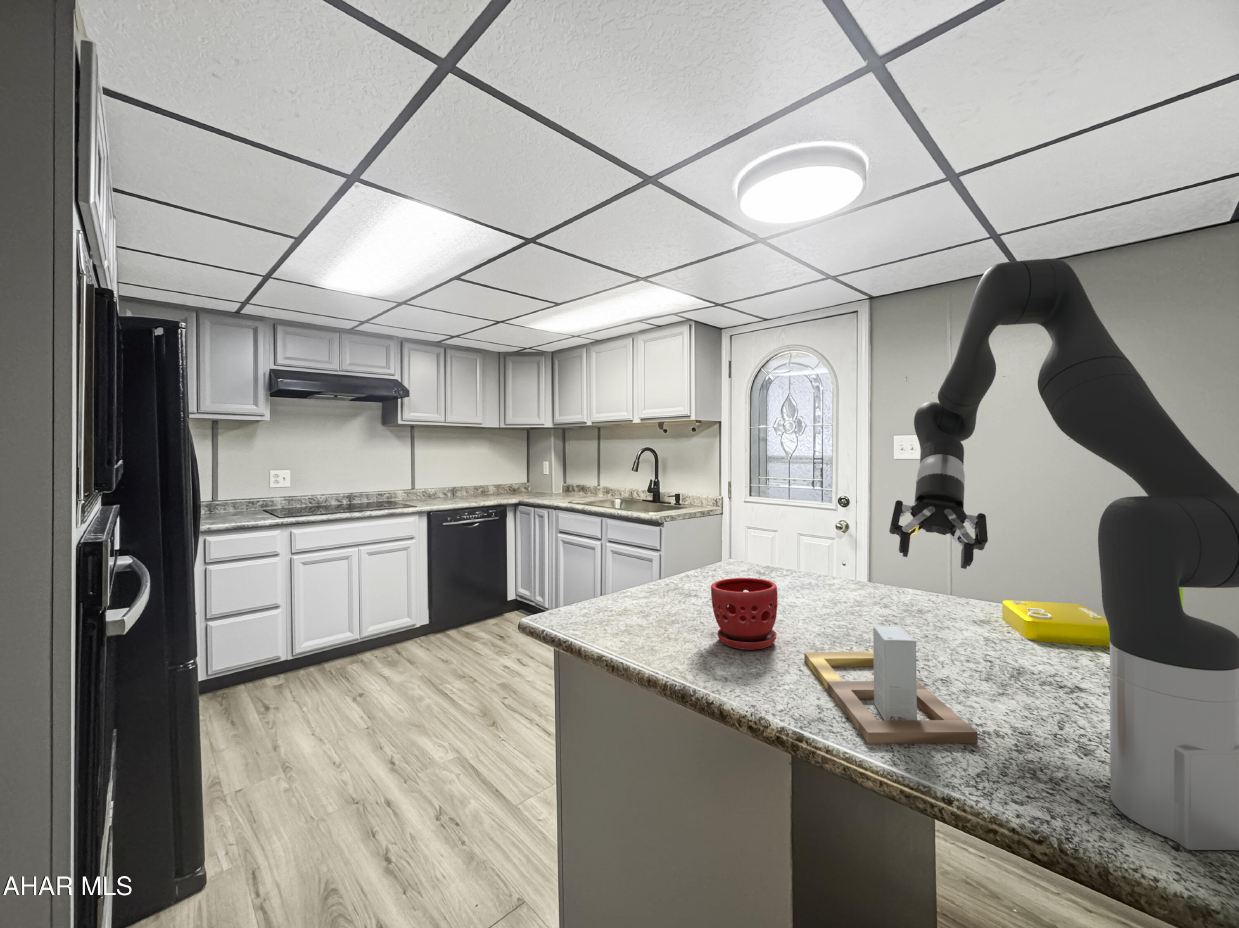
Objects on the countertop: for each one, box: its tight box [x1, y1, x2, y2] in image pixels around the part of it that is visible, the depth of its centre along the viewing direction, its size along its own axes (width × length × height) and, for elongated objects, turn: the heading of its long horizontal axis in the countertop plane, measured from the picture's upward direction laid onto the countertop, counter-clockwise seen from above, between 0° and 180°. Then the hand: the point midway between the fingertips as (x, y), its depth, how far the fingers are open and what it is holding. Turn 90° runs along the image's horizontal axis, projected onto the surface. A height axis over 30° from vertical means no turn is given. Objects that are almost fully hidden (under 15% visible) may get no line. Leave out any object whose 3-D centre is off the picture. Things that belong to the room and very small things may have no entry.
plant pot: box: [710, 577, 778, 651], centre depth 105 cm, size 13×13×12 cm
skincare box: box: [872, 625, 918, 720], centre depth 75 cm, size 6×4×12 cm
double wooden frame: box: [803, 650, 979, 745], centre depth 81 cm, size 27×14×2 cm, turn 177°
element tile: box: [1001, 599, 1110, 648], centre depth 106 cm, size 15×15×5 cm
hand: (934, 560), depth 86 cm, fingers open, 8 cm apart
